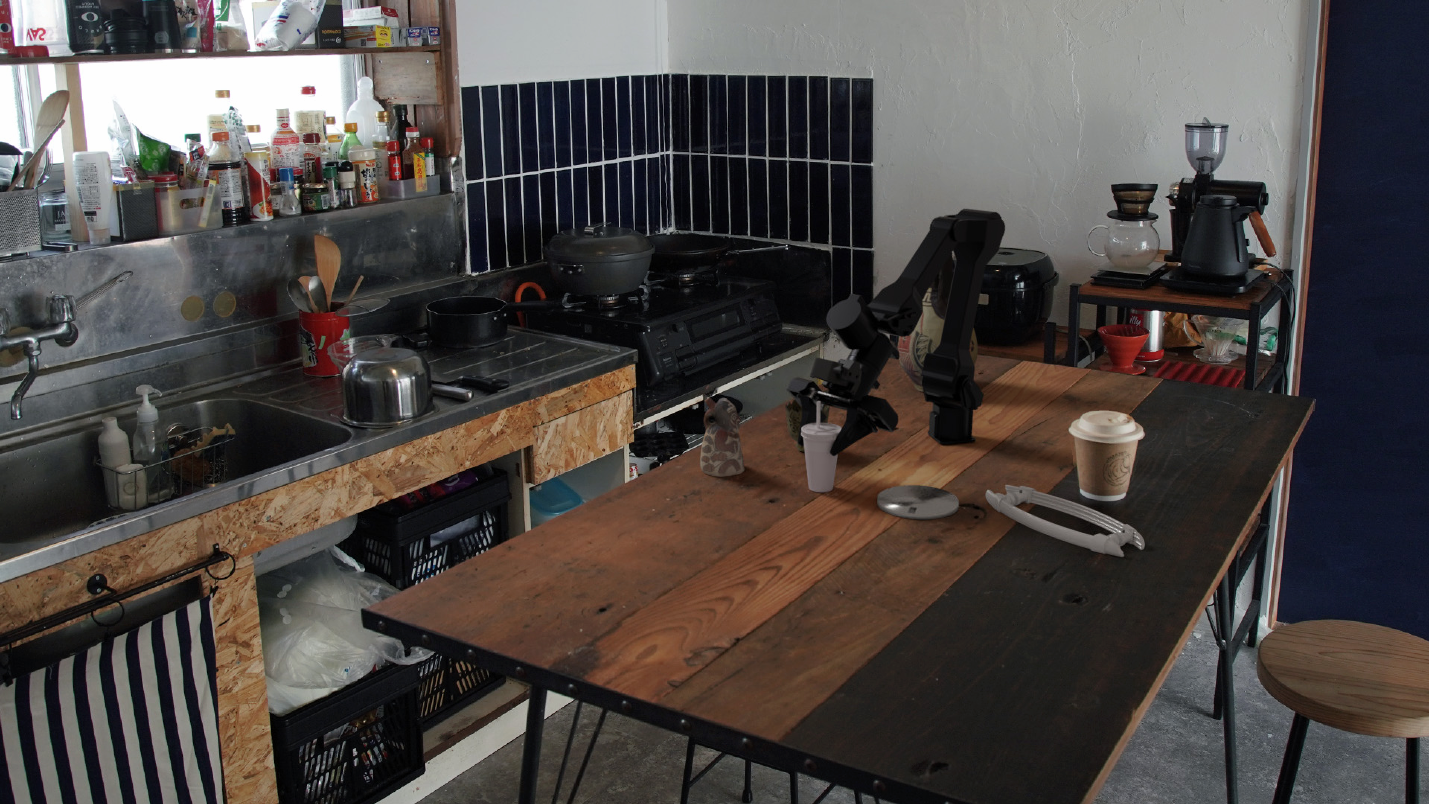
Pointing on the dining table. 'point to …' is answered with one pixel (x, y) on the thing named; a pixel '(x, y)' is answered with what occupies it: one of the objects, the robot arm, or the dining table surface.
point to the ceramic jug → (930, 327)
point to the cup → (798, 420)
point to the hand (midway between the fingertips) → (815, 449)
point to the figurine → (721, 440)
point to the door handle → (1094, 543)
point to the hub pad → (917, 502)
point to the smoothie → (820, 453)
